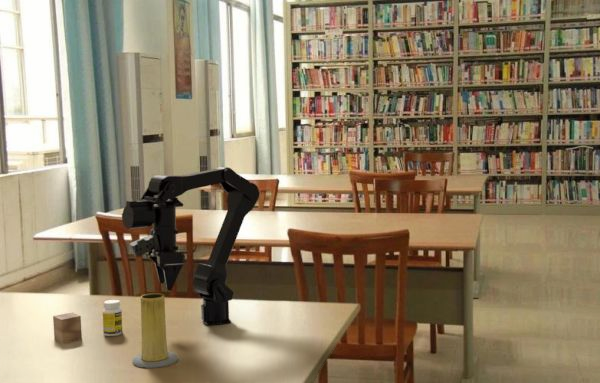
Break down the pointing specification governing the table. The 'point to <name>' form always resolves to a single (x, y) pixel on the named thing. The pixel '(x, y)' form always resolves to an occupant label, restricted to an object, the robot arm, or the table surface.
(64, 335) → the walnut block
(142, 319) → the vase
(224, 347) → the table surface
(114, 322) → the supplement bottle
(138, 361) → the mat
